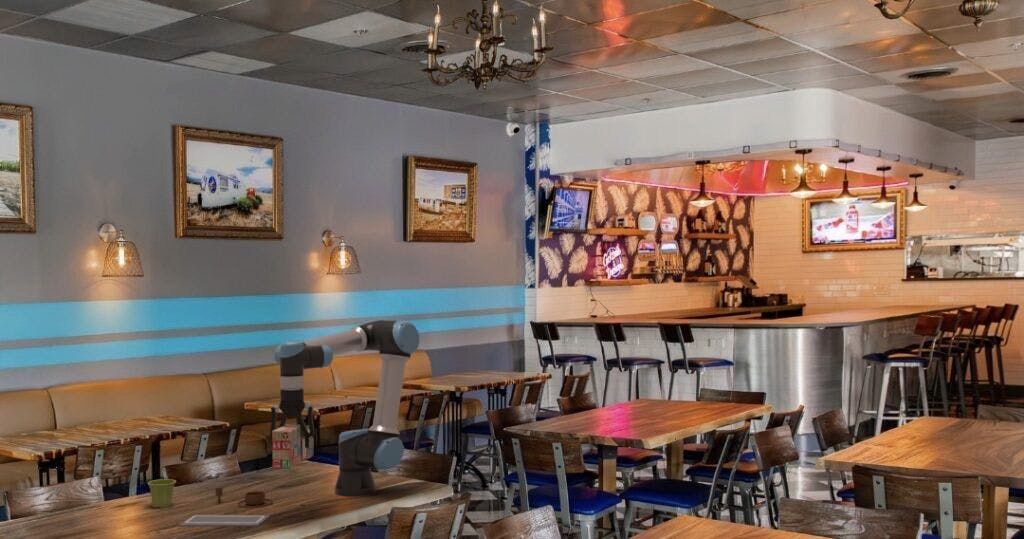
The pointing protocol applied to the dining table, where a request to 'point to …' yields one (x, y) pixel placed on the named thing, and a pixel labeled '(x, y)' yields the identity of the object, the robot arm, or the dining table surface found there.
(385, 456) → the robot arm
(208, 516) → the blueprint baseplate
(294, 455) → the stack of blocks
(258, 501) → the place setting
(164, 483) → the plant pot
